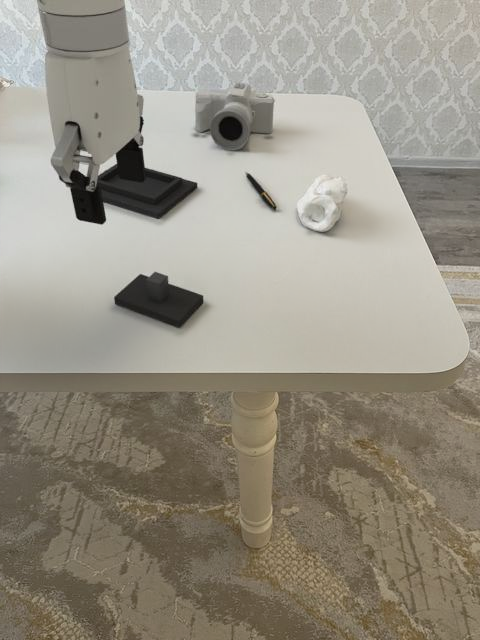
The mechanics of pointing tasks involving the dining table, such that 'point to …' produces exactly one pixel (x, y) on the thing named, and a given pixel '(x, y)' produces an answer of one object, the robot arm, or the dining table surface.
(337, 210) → the white hollow lump
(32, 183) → the dining table surface
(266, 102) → the digital camera
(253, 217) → the dining table surface
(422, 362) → the dining table surface
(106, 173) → the base pad
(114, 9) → the robot arm
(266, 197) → the fountain pen
